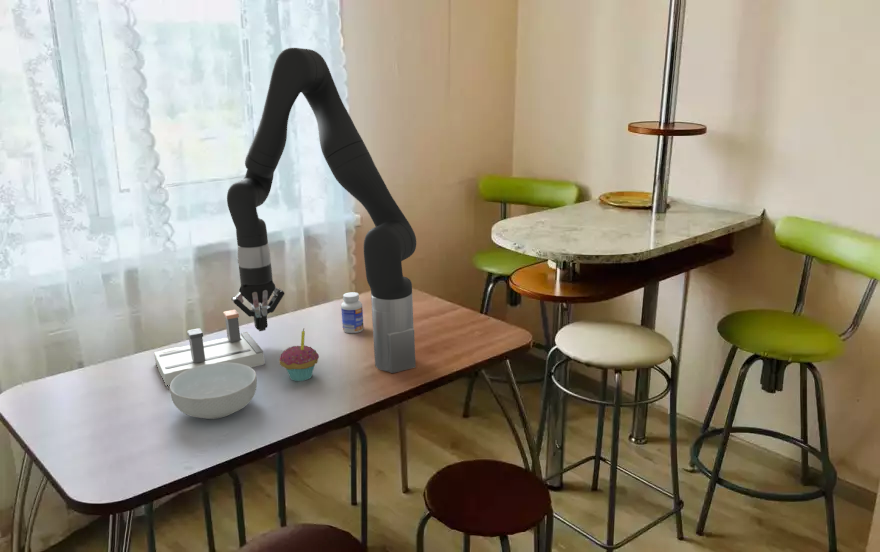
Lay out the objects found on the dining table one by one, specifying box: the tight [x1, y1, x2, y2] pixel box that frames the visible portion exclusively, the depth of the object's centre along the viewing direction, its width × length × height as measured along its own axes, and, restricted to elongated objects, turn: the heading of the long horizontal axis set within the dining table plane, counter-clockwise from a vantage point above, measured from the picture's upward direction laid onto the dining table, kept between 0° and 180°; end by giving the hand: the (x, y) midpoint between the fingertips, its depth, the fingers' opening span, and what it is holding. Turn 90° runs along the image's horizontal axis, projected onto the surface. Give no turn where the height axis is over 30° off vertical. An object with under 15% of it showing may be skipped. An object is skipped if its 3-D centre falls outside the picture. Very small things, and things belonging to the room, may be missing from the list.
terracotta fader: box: [223, 309, 241, 342], centre depth 177 cm, size 3×3×7 cm
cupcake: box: [278, 328, 320, 382], centre depth 163 cm, size 9×8×12 cm
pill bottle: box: [340, 291, 364, 334], centre depth 189 cm, size 5×5×10 cm
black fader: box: [186, 327, 205, 363], centre depth 165 cm, size 3×3×7 cm
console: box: [153, 331, 265, 387], centre depth 172 cm, size 14×22×3 cm, turn 119°
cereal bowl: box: [169, 363, 258, 420], centre depth 149 cm, size 17×17×7 cm
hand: (261, 329), depth 181 cm, fingers closed
